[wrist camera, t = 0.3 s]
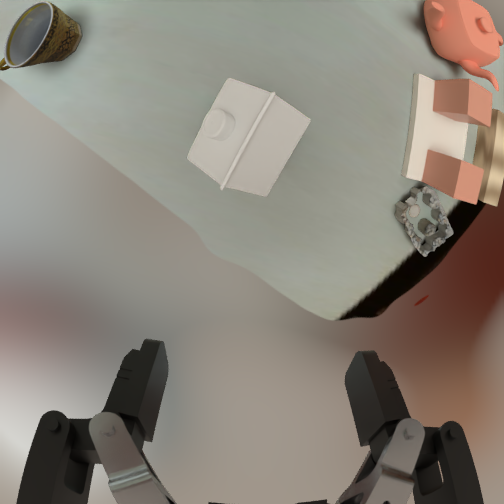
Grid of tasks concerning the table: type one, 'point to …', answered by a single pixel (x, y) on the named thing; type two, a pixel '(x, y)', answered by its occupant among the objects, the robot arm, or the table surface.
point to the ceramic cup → (40, 37)
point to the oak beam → (491, 158)
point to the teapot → (463, 35)
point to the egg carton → (424, 220)
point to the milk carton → (247, 138)
